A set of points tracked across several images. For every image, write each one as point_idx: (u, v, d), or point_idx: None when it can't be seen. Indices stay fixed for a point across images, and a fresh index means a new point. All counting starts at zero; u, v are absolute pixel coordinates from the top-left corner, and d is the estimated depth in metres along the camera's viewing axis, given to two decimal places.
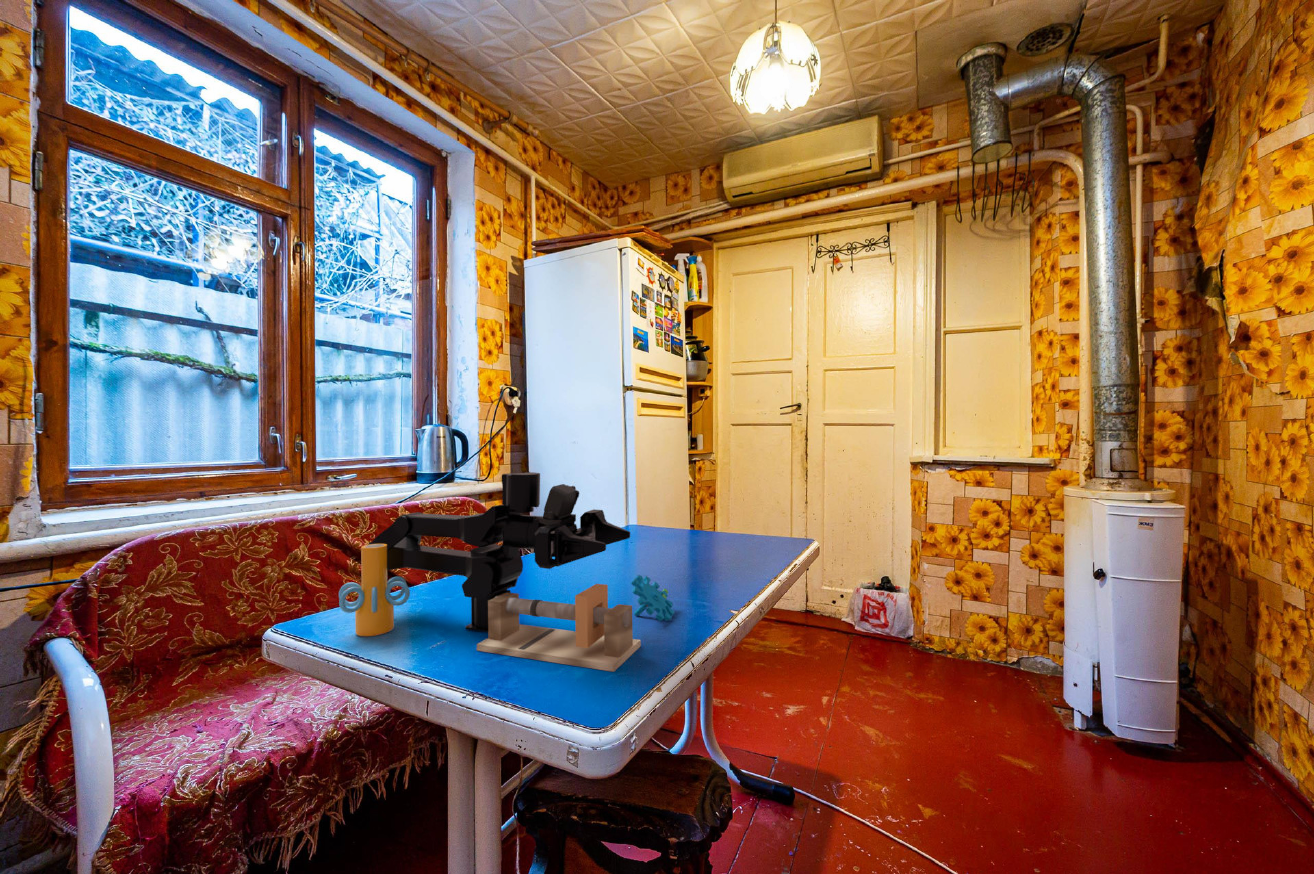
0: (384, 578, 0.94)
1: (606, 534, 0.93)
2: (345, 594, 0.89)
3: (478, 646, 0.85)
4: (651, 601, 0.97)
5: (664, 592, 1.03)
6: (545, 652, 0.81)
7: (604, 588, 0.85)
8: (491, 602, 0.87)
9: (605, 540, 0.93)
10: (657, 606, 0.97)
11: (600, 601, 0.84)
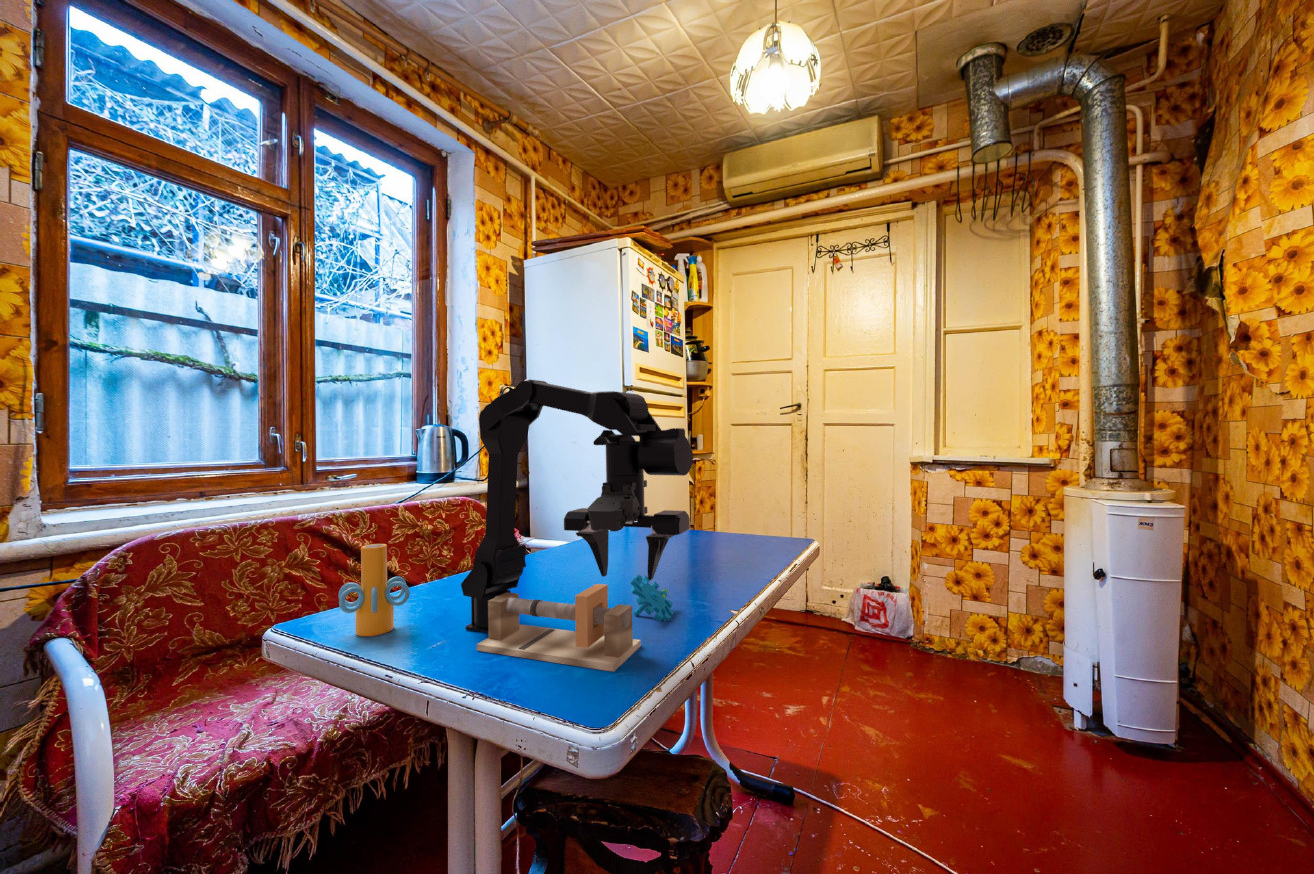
0: (384, 578, 0.94)
1: None
2: (345, 594, 0.89)
3: (478, 646, 0.85)
4: (650, 601, 0.97)
5: (664, 592, 1.03)
6: (545, 652, 0.81)
7: (604, 588, 0.85)
8: (491, 602, 0.87)
9: None
10: (656, 606, 0.97)
11: (600, 601, 0.84)
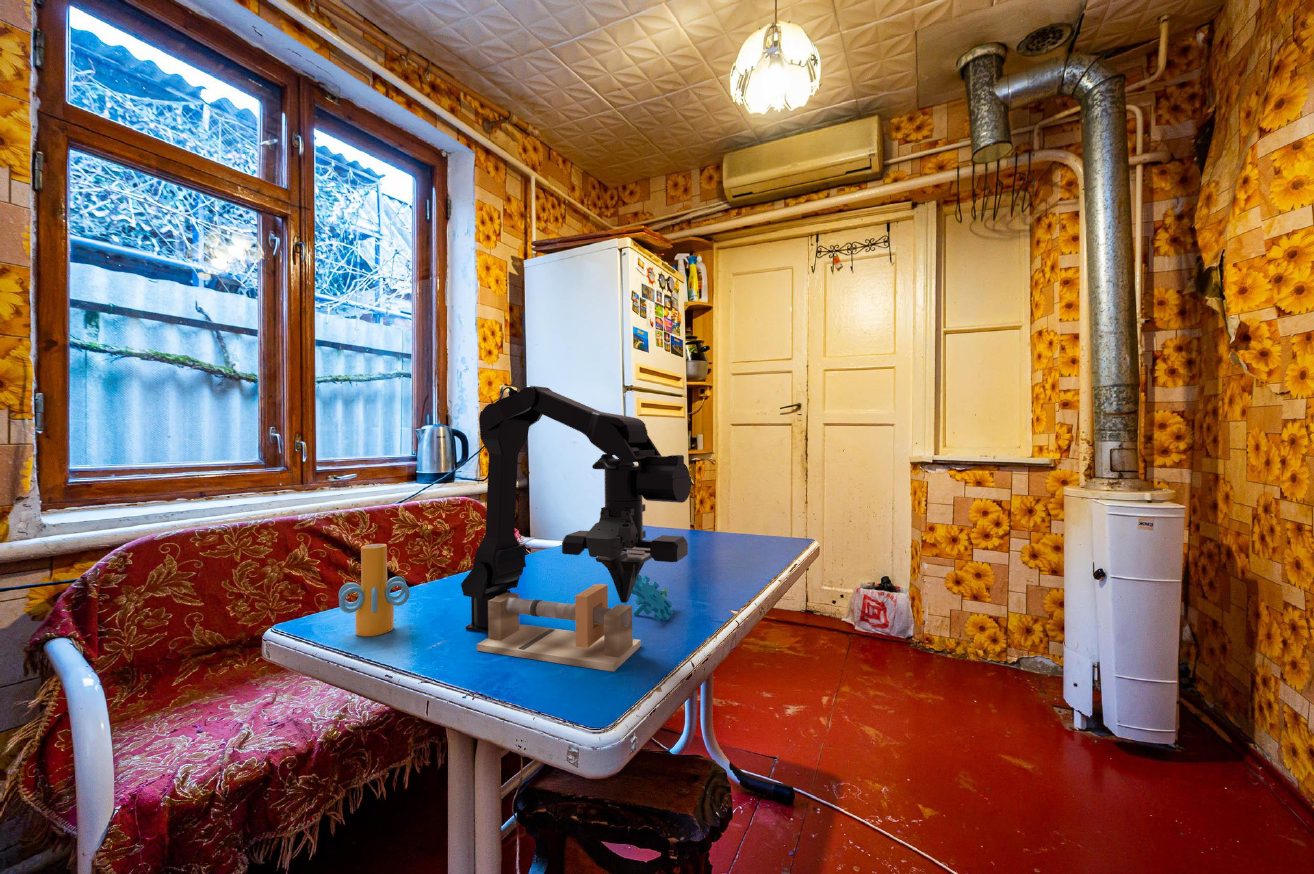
0: (384, 578, 0.94)
1: None
2: (345, 594, 0.89)
3: (478, 646, 0.85)
4: (649, 601, 0.97)
5: (663, 592, 1.03)
6: (545, 652, 0.81)
7: (604, 588, 0.85)
8: (491, 602, 0.87)
9: None
10: (655, 606, 0.97)
11: (600, 601, 0.84)
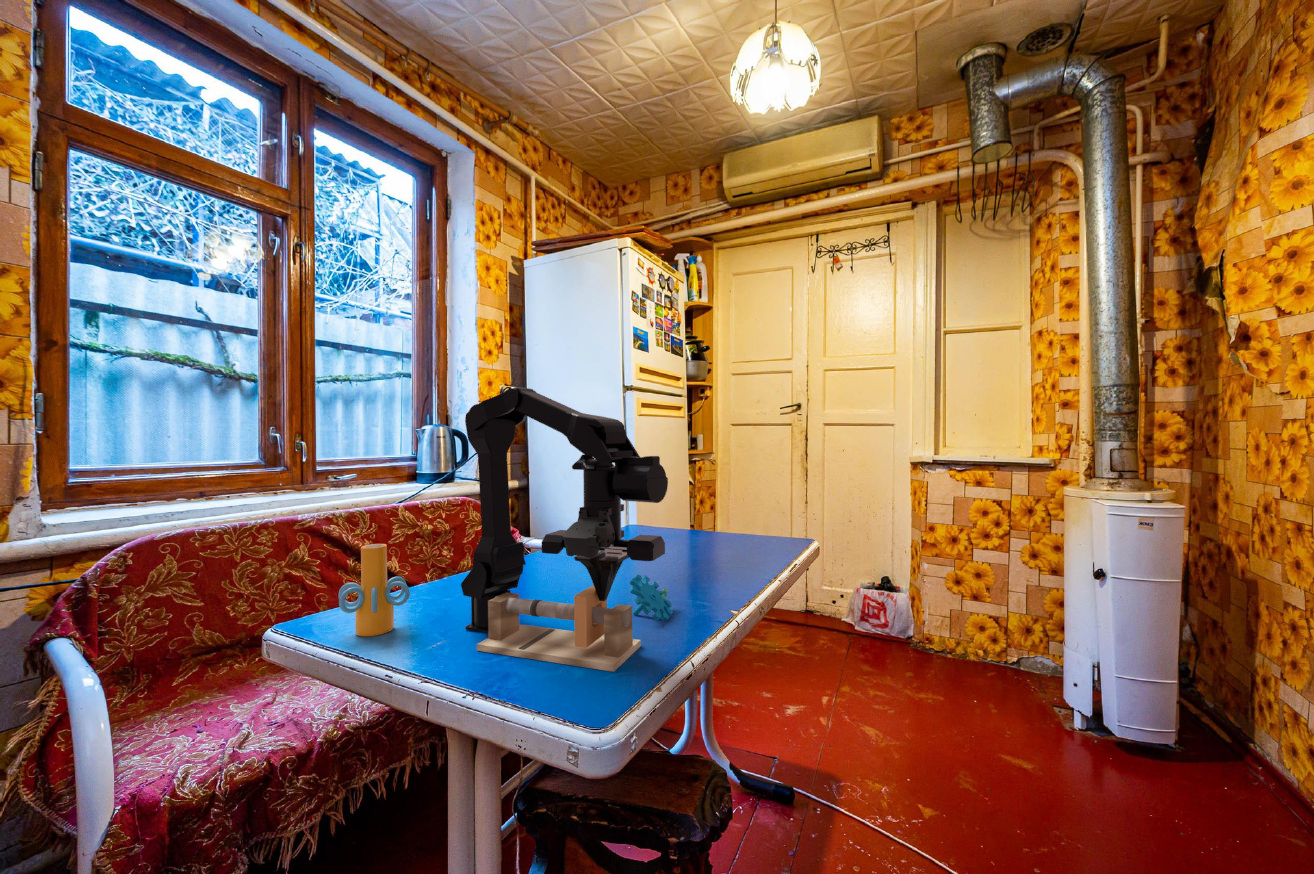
0: (384, 578, 0.94)
1: None
2: (345, 594, 0.89)
3: (478, 646, 0.85)
4: (649, 601, 0.97)
5: (663, 592, 1.03)
6: (545, 652, 0.81)
7: None
8: (491, 602, 0.87)
9: None
10: (654, 606, 0.97)
11: (599, 601, 0.84)
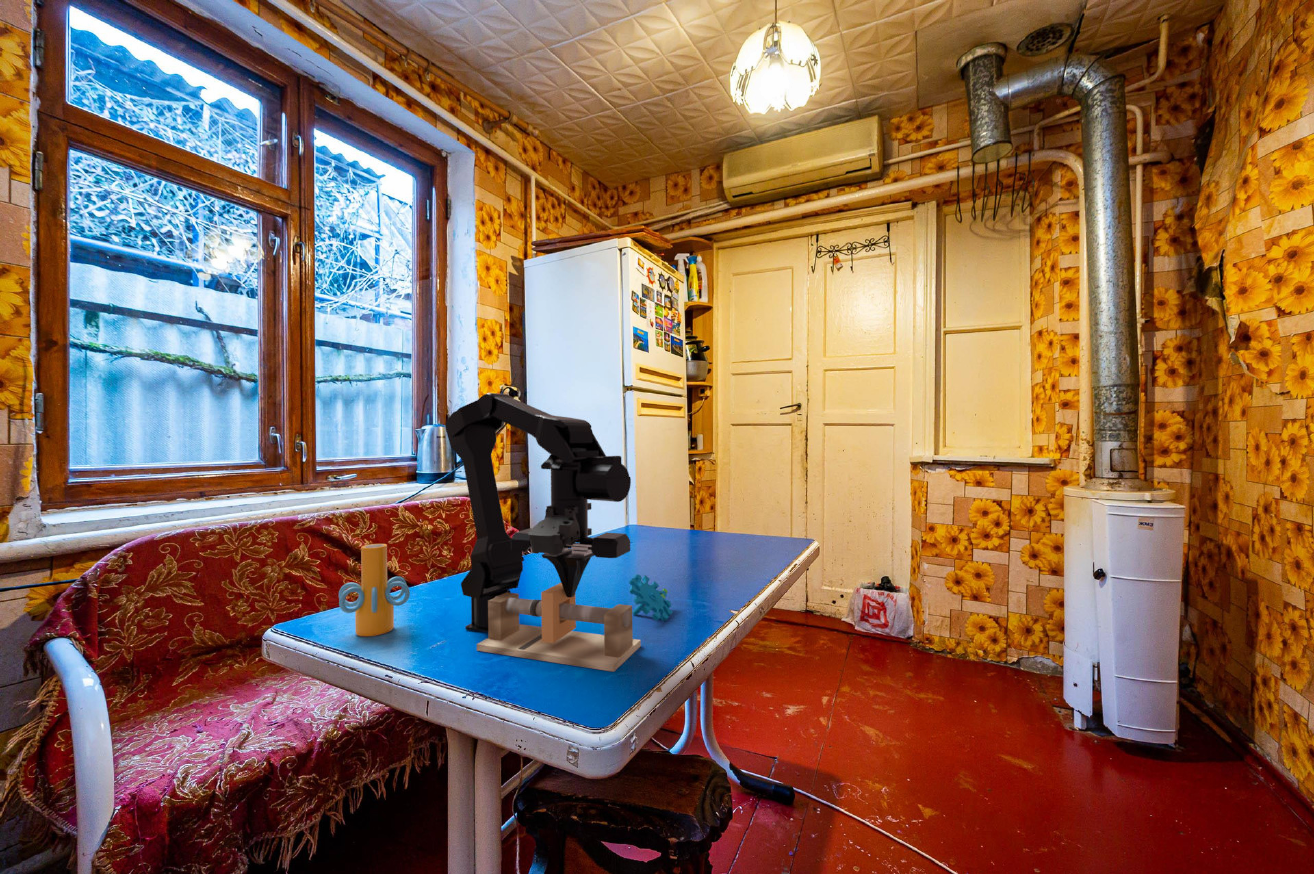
0: (384, 578, 0.94)
1: None
2: (345, 594, 0.89)
3: (478, 646, 0.85)
4: (648, 601, 0.97)
5: (663, 592, 1.03)
6: (545, 652, 0.81)
7: None
8: (491, 602, 0.87)
9: None
10: (654, 606, 0.97)
11: (567, 598, 0.86)
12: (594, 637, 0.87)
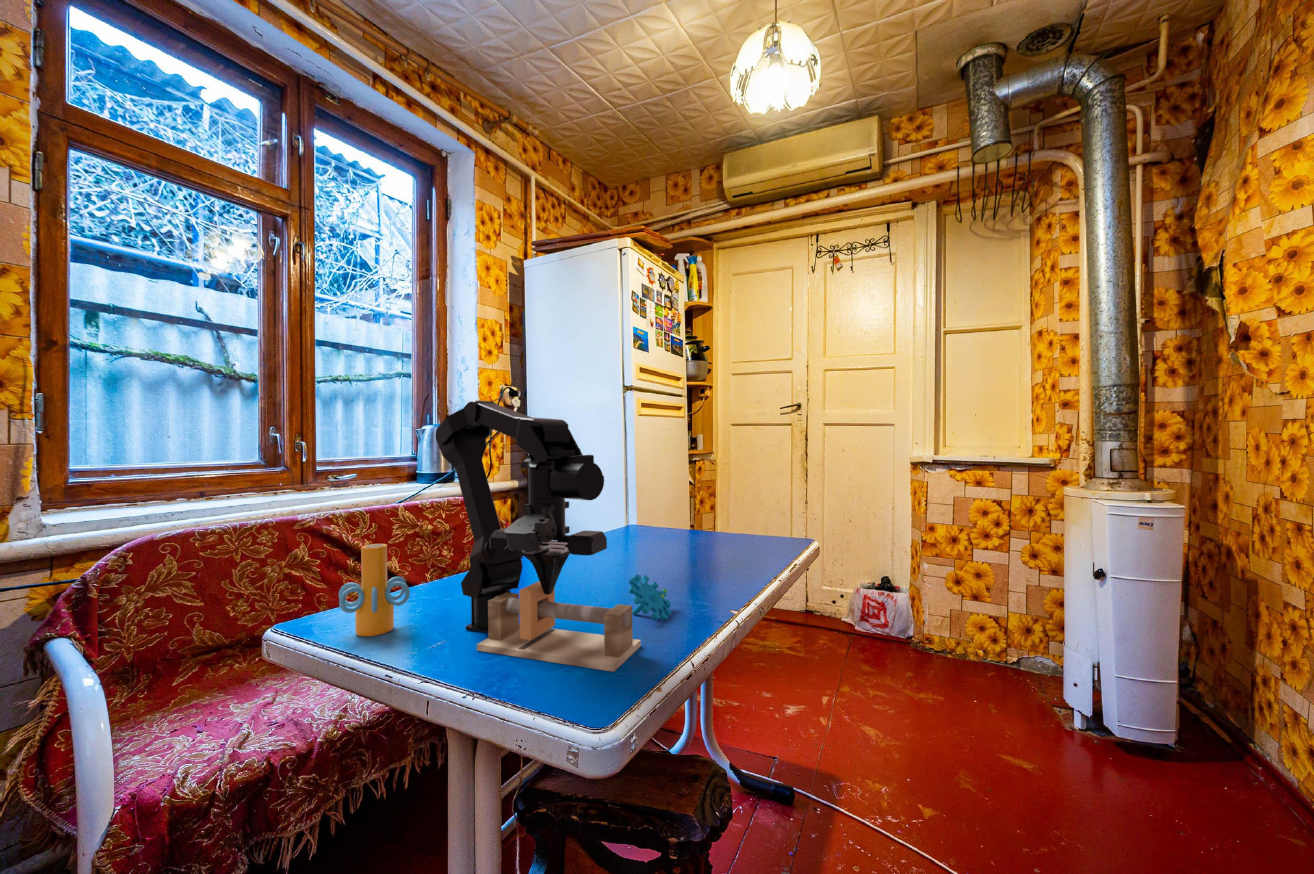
0: (384, 578, 0.94)
1: None
2: (345, 594, 0.89)
3: (478, 646, 0.85)
4: (647, 601, 0.97)
5: (663, 592, 1.03)
6: (545, 652, 0.81)
7: None
8: (491, 602, 0.87)
9: None
10: (653, 606, 0.97)
11: (546, 595, 0.87)
12: (594, 637, 0.87)
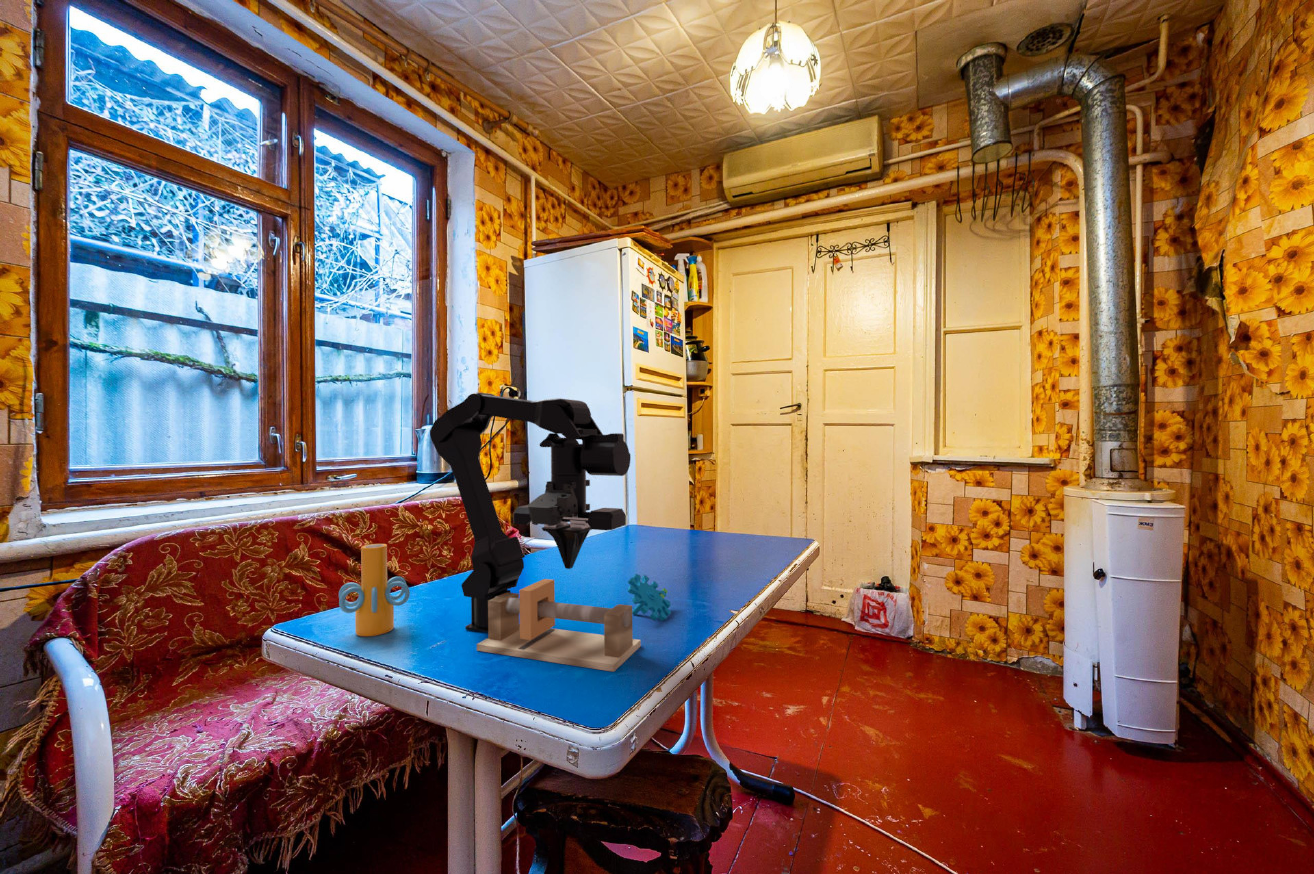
0: (384, 578, 0.94)
1: None
2: (345, 594, 0.89)
3: (478, 646, 0.85)
4: (646, 600, 0.97)
5: (663, 592, 1.03)
6: (545, 652, 0.81)
7: (550, 583, 0.88)
8: (491, 602, 0.87)
9: None
10: (652, 605, 0.98)
11: (546, 595, 0.87)
12: (594, 637, 0.87)
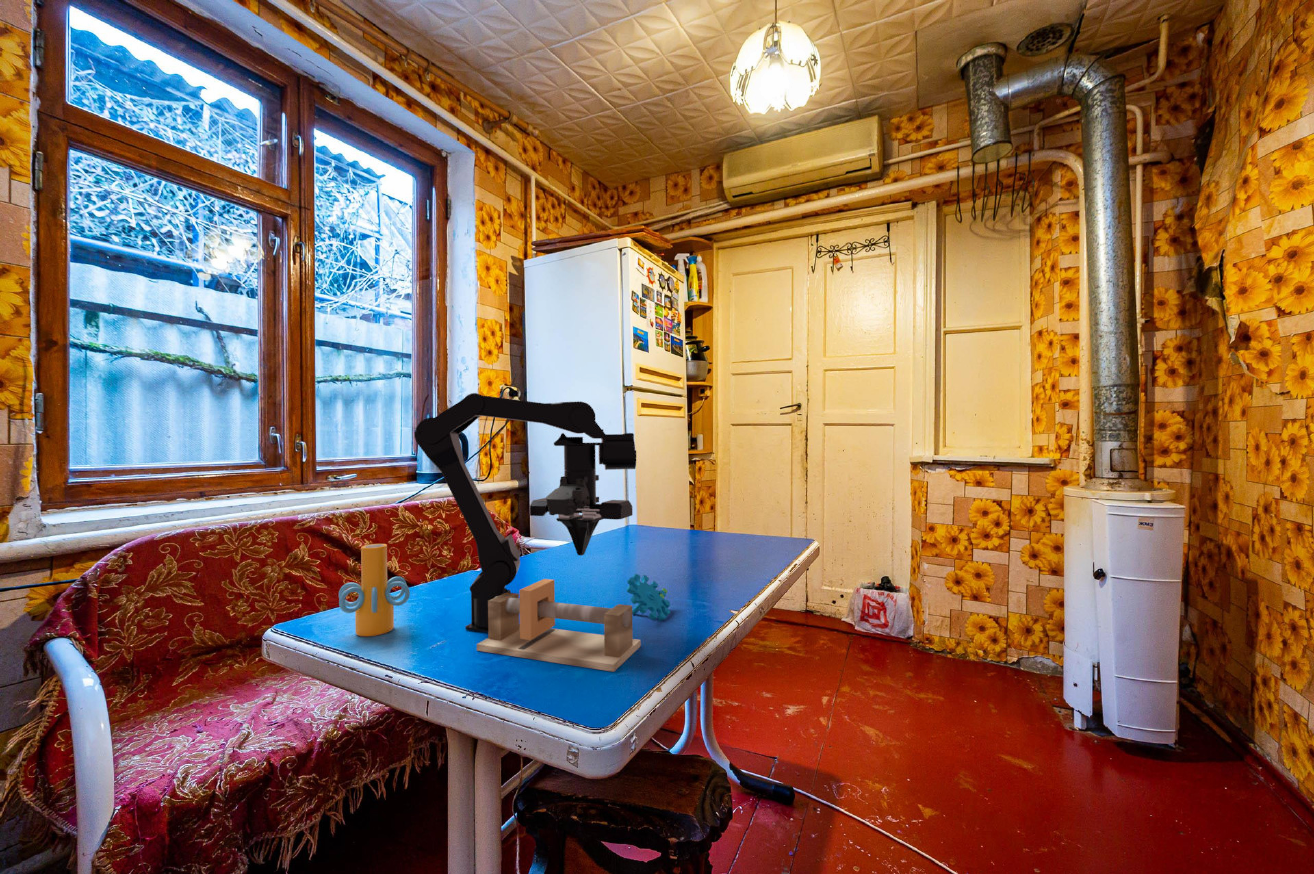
0: (384, 578, 0.94)
1: None
2: (345, 594, 0.89)
3: (478, 646, 0.85)
4: (645, 600, 0.98)
5: (662, 592, 1.03)
6: (545, 652, 0.81)
7: (550, 583, 0.88)
8: (491, 602, 0.87)
9: None
10: (651, 605, 0.98)
11: (546, 595, 0.87)
12: (594, 637, 0.87)
